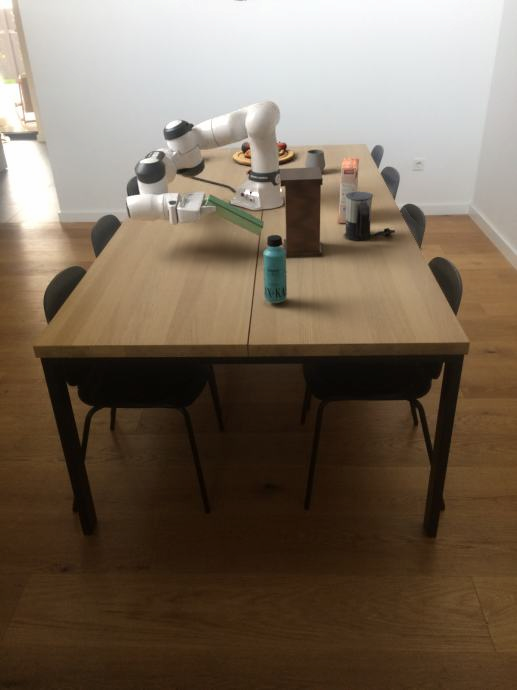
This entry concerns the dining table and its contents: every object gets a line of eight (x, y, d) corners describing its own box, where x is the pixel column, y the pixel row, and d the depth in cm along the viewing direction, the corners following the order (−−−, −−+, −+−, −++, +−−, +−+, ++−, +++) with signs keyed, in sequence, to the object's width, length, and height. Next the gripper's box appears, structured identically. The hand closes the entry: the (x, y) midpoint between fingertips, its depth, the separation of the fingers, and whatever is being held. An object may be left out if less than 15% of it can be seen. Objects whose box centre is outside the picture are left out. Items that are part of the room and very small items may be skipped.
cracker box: (354, 224, 215) (357, 167, 203) (338, 223, 216) (340, 167, 205) (356, 211, 226) (359, 157, 215) (341, 211, 227) (343, 157, 216)
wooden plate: (274, 170, 281) (273, 152, 277) (220, 163, 296) (219, 146, 291) (305, 154, 304) (305, 138, 299) (253, 148, 318) (253, 133, 314)
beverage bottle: (263, 298, 168) (260, 233, 157) (286, 296, 168) (284, 231, 157) (265, 308, 162) (262, 242, 151) (289, 307, 162) (288, 240, 152)
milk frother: (339, 234, 207) (340, 193, 199) (376, 226, 212) (379, 186, 204) (360, 247, 196) (363, 205, 188) (399, 239, 201) (403, 197, 193)
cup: (328, 171, 275) (329, 150, 269) (319, 176, 268) (319, 154, 263) (311, 169, 279) (311, 148, 274) (301, 174, 273) (301, 152, 267)
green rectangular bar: (203, 208, 187) (208, 198, 185) (205, 203, 191) (210, 194, 189) (258, 235, 192) (263, 226, 190) (258, 230, 195) (263, 221, 193)
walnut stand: (282, 258, 191) (280, 180, 177) (281, 243, 202) (279, 168, 188) (322, 257, 191) (323, 178, 177) (319, 242, 202) (320, 167, 188)
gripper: (180, 205, 200) (220, 204, 199) (171, 226, 182) (215, 225, 182) (178, 187, 196) (218, 186, 196) (169, 207, 179) (213, 206, 178)
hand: (216, 205), depth 189 cm, fingers closed on green rectangular bar, 4 cm apart
